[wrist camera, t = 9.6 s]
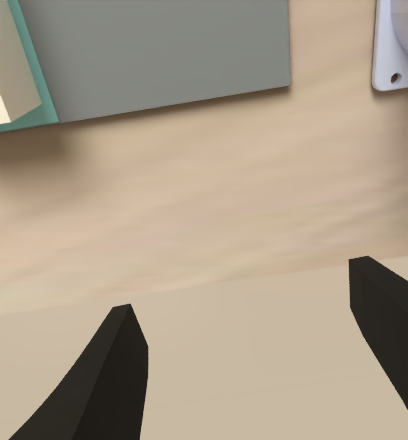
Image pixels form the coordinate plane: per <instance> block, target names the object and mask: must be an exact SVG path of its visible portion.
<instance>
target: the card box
mask: <svg viewBox="0 0 408 440" xmlns="http://www.w3.org/2000/svg"><path fill="white" fill-rule="evenodd" d="M41 104H42V102H41V99H40V96H39V93H38V90H37V87H36V84H35V81H34V78H33V75H32V73H31V70H30V67H29V64H28V61H27V58H26V55H25V52H24V49H23V46H22V43H21V40H20V37H19V34H18V31H17V28H16V25H15V22H14V19H13V16H12V13H11V10H10V7H9V5H8V2H7V0H0V124H3V123H9V122H12V121H14V120H16V119H17V118H19V117H21V116H22V115H24V114H26V113H28V112H29V111H31V110H33V109H34V108H36V107H38V106H39V105H41Z"/></svg>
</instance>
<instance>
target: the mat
mask: <svg viewBox="0 0 408 440" xmlns="http://www.w3.org/2000/svg"><path fill="white" fill-rule="evenodd" d="M7 2H8V5H9V7H10V10H11V13H12V16H13V19H14V22H15V25H16V28H17V31H18V34H19V37H20V40H21V43H22V46H23V49H24V52H25V55H26V58H27V61H28V64H29V67H30V70H31V73H32V75H33V78H34V81H35V84H36V87H37V90H38V93H39V96H40V99H41V102H42V104H41V105H39V106H38V107H36V108H34V109H33V110H31V111H29V112H28V113H26V114H24V115H22V116H21V117H19V118H17V119H16V120H14V121H12V122H9V123H3V124H0V133H5V132H11V131H17V130H23V129H29V128H35V127H41V126H47V125H53V124H59V123H66V122H72V121H78V120H84V119H90V118H96V117H102V116H108V115H114V114H120V113H126V112H132V111H138V110H144V109H150V108H156V107H162V106H168V105H174V104H180V103H186V102H193V101H199V100H205V99H211V98H217V97H223V96H229V95H235V94H241V93H247V92H253V91H259V90H265V89H271V88H277V87H283V86H289V85H291V83H290V55H289V27H288V0H7Z"/></svg>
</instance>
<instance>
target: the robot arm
mask: <svg viewBox="0 0 408 440" xmlns="http://www.w3.org/2000/svg"><path fill="white" fill-rule="evenodd" d="M395 73H397V76H398V77H397V80H396V81H395V82H394V83H391V77H392V76H393V75H394V74H395ZM372 86H373V87H374V89H376V90H378V91H390V90H396V89H402V88H408V0H377V8H376V24H375V39H374V54H373V70H372ZM349 281H350V282H349V284H350V308H351V310H352V312H353V315H354V317H355V319H356V322H357V324H358V326H359V328H360V330H361V332H362V335H363V337H364V338H365V340H366V342H367V343H368V345H369V347H370V348H371V350H372V351H373V353H374V355H375V356H376V358H377V360H378V361H379V363H380V364H381V366H382V368H383V369H384V371H385V373H386V374H387V376H388V377H389V379H390V381H391V382H392V384H393V385H394V387H395V389H396V390H397V392H398V394H399V395H400V397H401V399H402V400H403V402H404V404H405V406H406V408H407V409H408V281H407V280H405V279H404V278H402V277H400V276H399V275H397V274H396V273H394V272H393V271H391V270H390V269H388V268H386V267H385V266H383V265H382V264H380V263H379V262H377V261H376V260H374V259H372V258H371V257H369V256H364V257H359V258H354V259H349ZM147 380H148V345H147V342H146V340H145V338H144V335H143V333H142V330H141V328H140V325H139V323H138V321H137V318H136V316H135V313H134V311H133V308H132V306H131V304H126V305H121V306H117V307H113V308H112V309H111V311H110V312H109V314H108V315H107V317H106V318H105V320H104V321H103V323H102V324H101V326H100V327H99V329H98V330H97V332H96V333H95V335H94V336H93V338H92V339H91V341H90V342H89V344H88V345H87V346H86V348H85V349H84V351H83V352H82V354H81V355H80V357H79V358H78V359H77V361H76V362H75V364H74V365H73V366H72V367H71V369H70V370H69V372H68V373H67V374H66V375H65V377H64V378H63V380H62V381H61V382H60V383H59V385H58V386H57V387H56V389H55V390H54V391H53V392H52V393H51V394H50V396H49V397H48V398H47V399H46V400H45V401H44V403H43V404H42V405H41V406H40V407H39V408H38V409H37V411H36V412H35V413H34V414H33V415H32V416H31V417H30V418H29V419H28V421H27V422H26V423H24V425H22V427H21V428H20V429H19V430H18V431H17V432H16V433H15V434H14V435H13V436H12V437H11V438H10V439H9V440H140V432H141V425H142V418H143V411H144V403H145V396H146V388H147Z"/></svg>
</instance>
